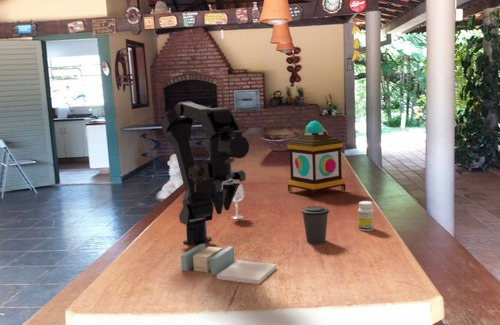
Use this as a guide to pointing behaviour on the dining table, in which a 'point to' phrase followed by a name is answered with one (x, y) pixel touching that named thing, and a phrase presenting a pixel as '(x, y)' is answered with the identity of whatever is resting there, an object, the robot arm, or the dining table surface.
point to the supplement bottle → (365, 216)
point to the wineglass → (237, 198)
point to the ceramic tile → (247, 272)
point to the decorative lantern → (315, 160)
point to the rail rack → (217, 261)
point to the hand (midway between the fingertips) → (223, 211)
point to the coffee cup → (315, 224)
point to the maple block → (205, 259)
